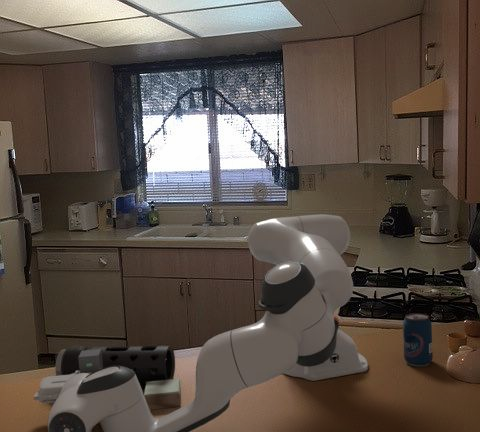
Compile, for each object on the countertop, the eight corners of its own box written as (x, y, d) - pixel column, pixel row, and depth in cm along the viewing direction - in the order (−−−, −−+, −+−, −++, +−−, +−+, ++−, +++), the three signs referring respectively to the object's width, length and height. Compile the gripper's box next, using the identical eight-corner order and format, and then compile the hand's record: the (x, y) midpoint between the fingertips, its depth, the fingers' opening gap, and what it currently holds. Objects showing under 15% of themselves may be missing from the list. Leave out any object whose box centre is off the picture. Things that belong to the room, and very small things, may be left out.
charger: (106, 397, 138) (101, 348, 137) (103, 406, 133) (98, 355, 131) (86, 399, 137) (82, 349, 136) (83, 408, 132) (78, 357, 131)
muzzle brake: (167, 394, 137) (163, 352, 136) (55, 395, 142) (51, 354, 140) (177, 379, 147) (173, 339, 146) (72, 379, 151) (68, 341, 150)
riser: (180, 392, 138) (179, 378, 137) (180, 406, 130) (179, 391, 129) (146, 395, 137) (145, 381, 137) (144, 410, 129) (143, 395, 129)
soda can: (399, 364, 146) (397, 317, 145) (411, 355, 152) (409, 311, 150) (426, 369, 142) (424, 321, 141) (437, 360, 147) (435, 314, 146)
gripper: (32, 415, 121) (48, 389, 134) (131, 405, 122) (137, 381, 136) (29, 386, 120) (45, 363, 134) (129, 376, 122) (135, 355, 136)
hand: (92, 372), depth 135 cm, fingers closed on charger, 4 cm apart
